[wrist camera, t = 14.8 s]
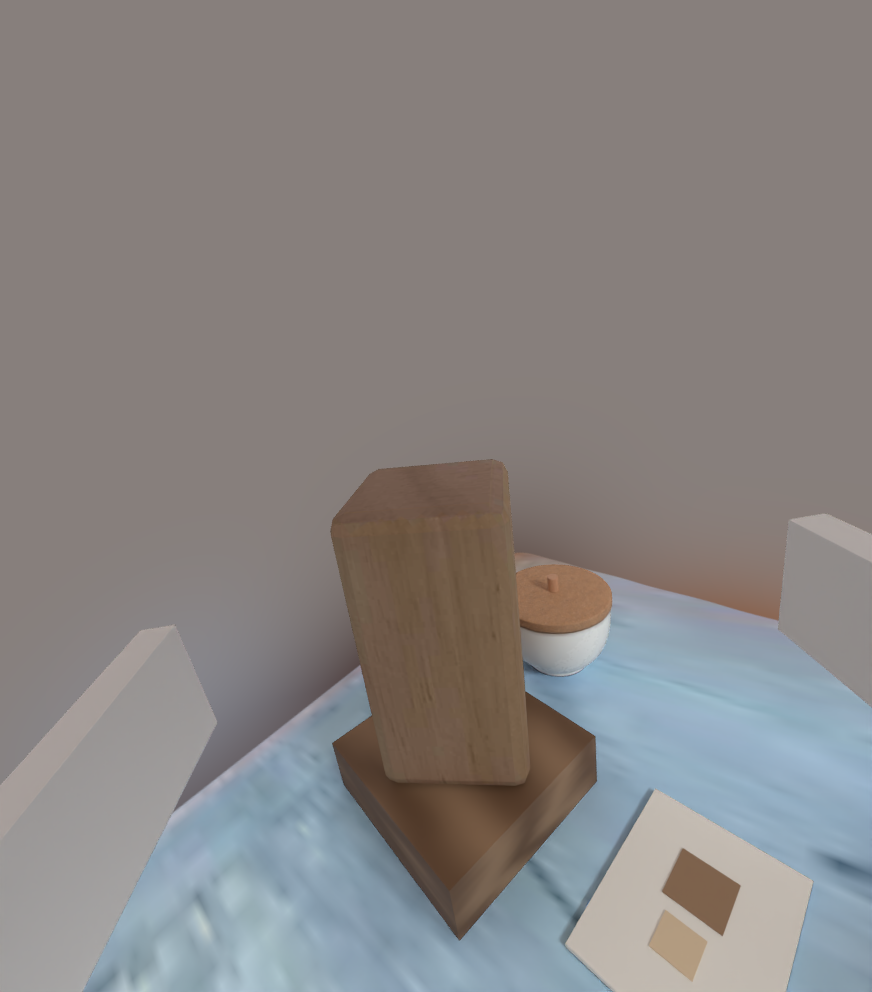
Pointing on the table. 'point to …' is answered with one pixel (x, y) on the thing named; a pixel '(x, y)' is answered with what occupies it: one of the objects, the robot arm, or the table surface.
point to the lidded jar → (562, 617)
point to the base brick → (472, 813)
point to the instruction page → (691, 910)
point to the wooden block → (438, 621)
